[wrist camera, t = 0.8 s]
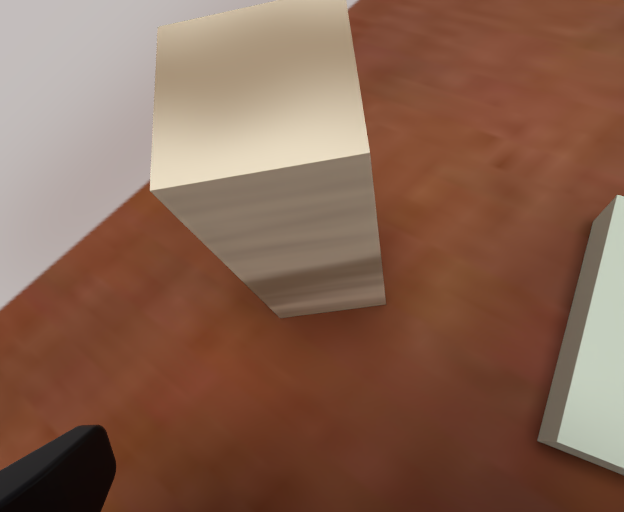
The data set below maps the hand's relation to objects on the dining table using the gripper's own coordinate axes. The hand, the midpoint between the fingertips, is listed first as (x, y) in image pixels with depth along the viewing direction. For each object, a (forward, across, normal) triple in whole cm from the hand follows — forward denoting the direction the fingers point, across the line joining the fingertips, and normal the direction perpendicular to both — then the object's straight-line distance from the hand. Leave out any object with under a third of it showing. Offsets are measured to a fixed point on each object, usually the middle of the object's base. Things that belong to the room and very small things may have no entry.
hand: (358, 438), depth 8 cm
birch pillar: (+15, +2, +2) cm, 15 cm away
